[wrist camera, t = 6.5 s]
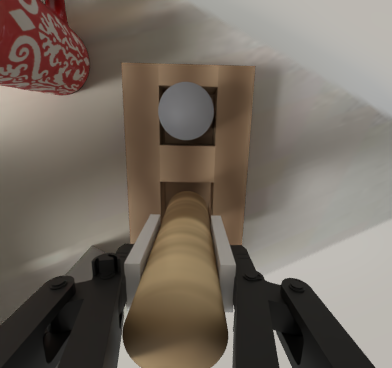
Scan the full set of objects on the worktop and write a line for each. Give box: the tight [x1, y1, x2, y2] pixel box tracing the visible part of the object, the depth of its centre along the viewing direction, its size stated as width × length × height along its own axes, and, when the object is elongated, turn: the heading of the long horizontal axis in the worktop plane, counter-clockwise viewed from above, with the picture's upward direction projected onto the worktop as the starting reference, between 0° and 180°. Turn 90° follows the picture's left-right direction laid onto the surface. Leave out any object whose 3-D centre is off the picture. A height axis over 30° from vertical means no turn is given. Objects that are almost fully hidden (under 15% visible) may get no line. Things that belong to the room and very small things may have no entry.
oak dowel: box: [123, 191, 228, 368], centre depth 15 cm, size 4×4×14 cm
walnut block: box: [121, 63, 255, 245], centre depth 25 cm, size 12×18×6 cm, turn 179°
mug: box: [0, 0, 90, 95], centre depth 18 cm, size 13×9×14 cm
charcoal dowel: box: [158, 82, 214, 140], centre depth 20 cm, size 4×4×9 cm
